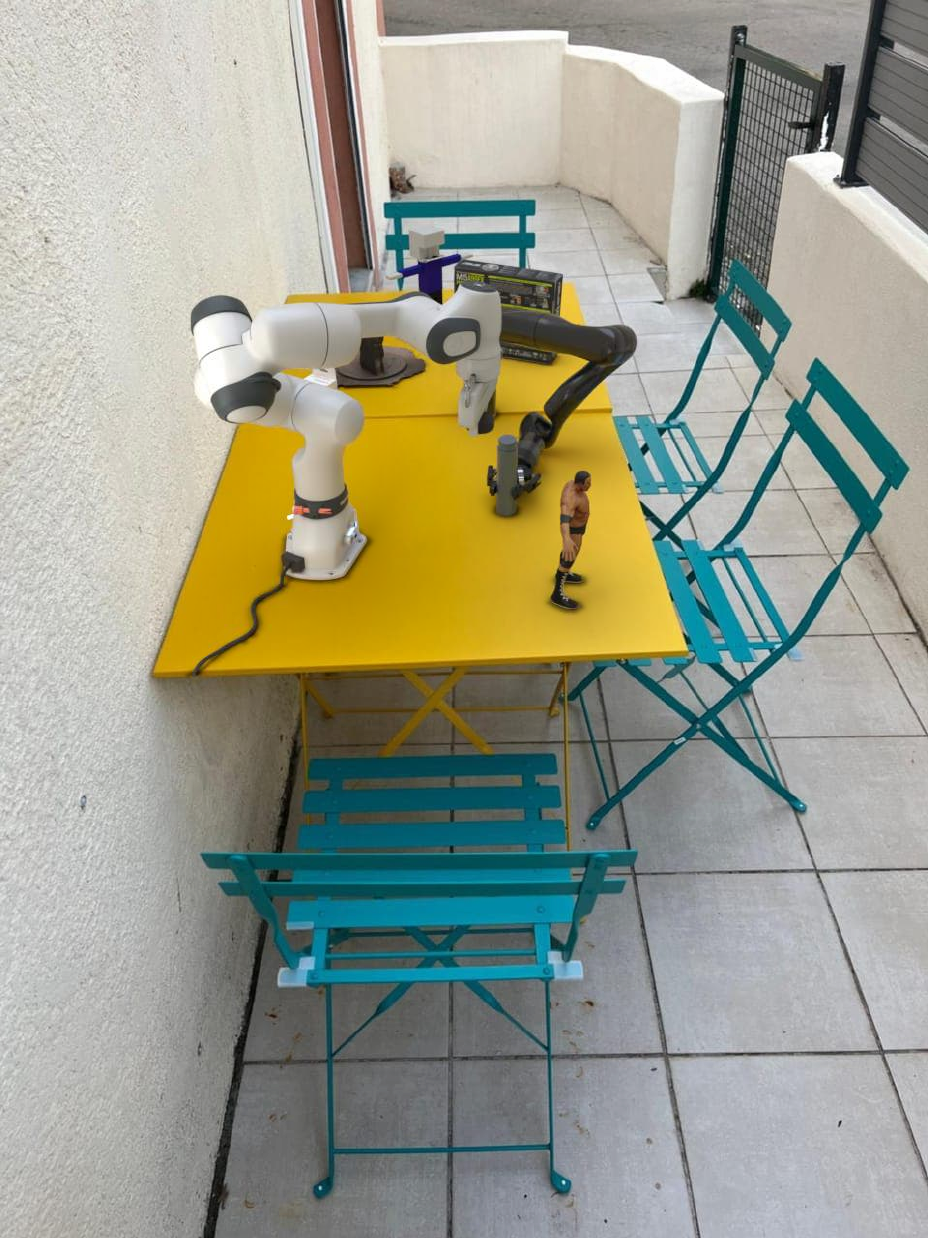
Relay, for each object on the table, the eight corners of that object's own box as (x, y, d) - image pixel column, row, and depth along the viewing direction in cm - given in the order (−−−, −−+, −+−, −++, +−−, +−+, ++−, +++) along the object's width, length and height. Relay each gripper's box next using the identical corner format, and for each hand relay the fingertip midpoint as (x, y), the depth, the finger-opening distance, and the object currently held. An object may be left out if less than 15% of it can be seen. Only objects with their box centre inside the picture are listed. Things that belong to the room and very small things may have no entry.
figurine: (575, 629, 182) (588, 506, 163) (545, 625, 183) (554, 502, 164) (587, 560, 200) (599, 442, 181) (559, 557, 201) (568, 439, 182)
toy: (460, 304, 319) (459, 216, 299) (477, 312, 313) (477, 222, 294) (381, 329, 302) (375, 237, 283) (398, 337, 296) (393, 244, 277)
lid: (459, 425, 185) (459, 416, 184) (480, 417, 188) (481, 407, 187) (478, 437, 182) (478, 427, 180) (499, 428, 185) (500, 419, 183)
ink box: (306, 417, 253) (300, 368, 244) (316, 410, 257) (310, 362, 247) (331, 424, 250) (326, 375, 241) (341, 416, 254) (336, 368, 244)
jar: (516, 505, 218) (518, 434, 205) (515, 516, 214) (517, 445, 201) (496, 504, 218) (497, 433, 205) (495, 515, 215) (496, 444, 202)
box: (558, 356, 284) (564, 271, 267) (551, 365, 279) (556, 279, 262) (462, 341, 294) (461, 258, 277) (453, 349, 289) (452, 265, 271)
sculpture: (406, 397, 263) (403, 345, 252) (297, 384, 270) (290, 333, 259) (437, 352, 287) (436, 303, 277) (336, 341, 294) (331, 293, 284)
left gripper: (481, 389, 168) (481, 453, 177) (504, 346, 183) (502, 407, 192) (449, 385, 169) (450, 449, 178) (474, 343, 184) (474, 404, 193)
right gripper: (495, 442, 222) (474, 476, 210) (551, 451, 218) (533, 486, 206) (495, 468, 227) (474, 503, 214) (549, 477, 223) (532, 513, 211)
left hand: (477, 427), depth 185 cm, fingers closed on lid, 5 cm apart
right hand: (503, 494), depth 210 cm, fingers closed on jar, 5 cm apart
